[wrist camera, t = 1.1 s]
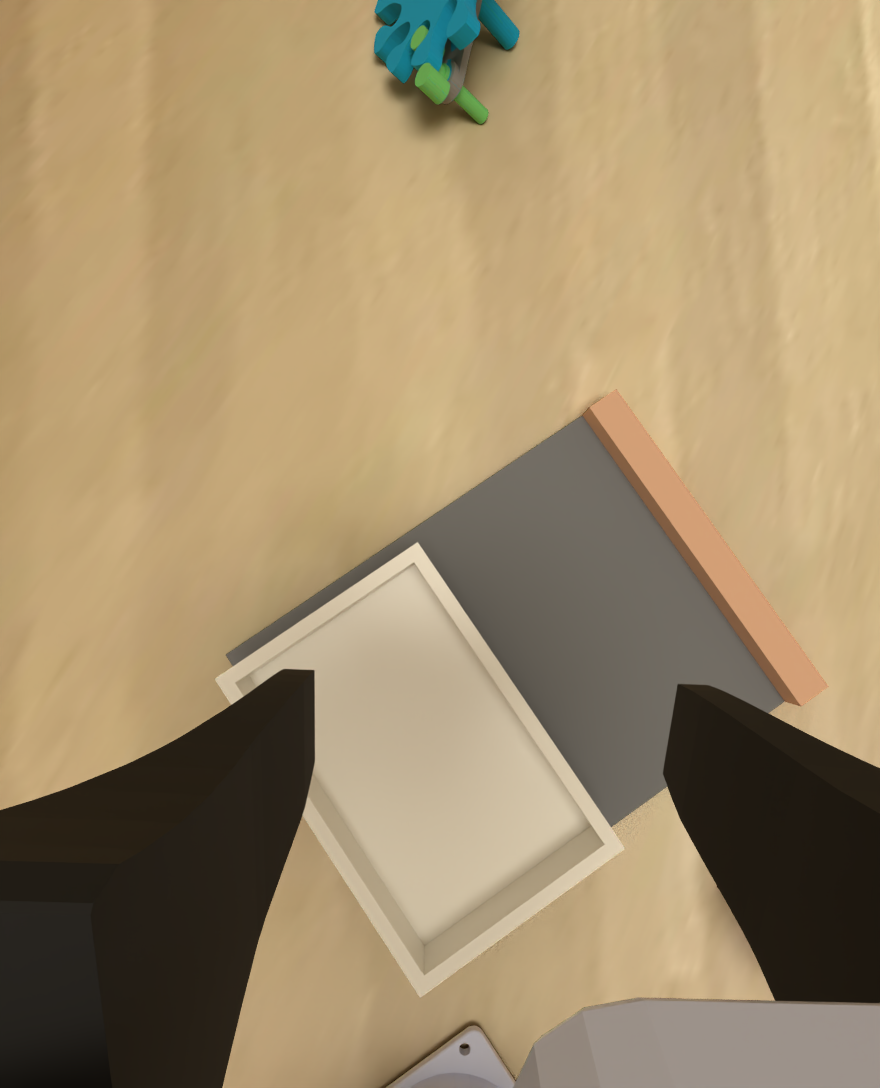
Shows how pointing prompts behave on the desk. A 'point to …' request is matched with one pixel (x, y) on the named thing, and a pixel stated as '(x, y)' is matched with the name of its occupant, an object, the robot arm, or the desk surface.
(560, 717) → the thin flat board
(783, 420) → the desk surface
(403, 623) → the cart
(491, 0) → the gear
